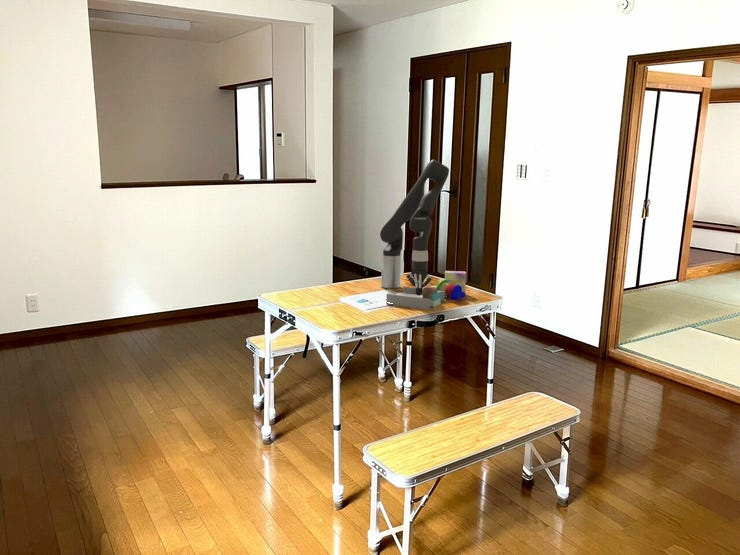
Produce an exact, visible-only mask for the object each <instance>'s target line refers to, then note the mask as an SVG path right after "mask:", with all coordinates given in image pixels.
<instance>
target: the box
mask: <svg viewBox="0 0 740 555" xmlns="http://www.w3.org/2000/svg"><path fill="white" fill-rule="evenodd" d="M444 280H447V281H448V284H449V285H453V284H454V285H460V286H461V287H462V291H463V292H465V293H466V281H467V272H466V271H463V270H462V271H461V270H458V271H457V270H456V271H455V270H445V271H444Z"/></svg>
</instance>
